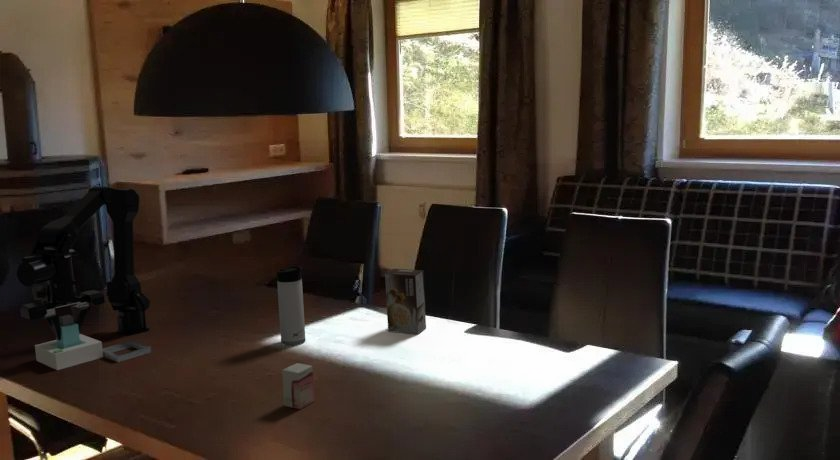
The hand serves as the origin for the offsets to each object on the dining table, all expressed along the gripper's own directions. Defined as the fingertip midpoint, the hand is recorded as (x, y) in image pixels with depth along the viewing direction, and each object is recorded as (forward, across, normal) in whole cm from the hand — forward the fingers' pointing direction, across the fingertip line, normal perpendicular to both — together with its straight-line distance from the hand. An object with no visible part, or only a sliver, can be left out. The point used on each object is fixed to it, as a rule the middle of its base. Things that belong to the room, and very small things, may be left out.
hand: (67, 337), depth 192 cm
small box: (+6, -16, +69) cm, 71 cm away
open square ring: (+6, -10, +8) cm, 14 cm away
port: (+6, 0, 0) cm, 6 cm away
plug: (+4, 0, 0) cm, 4 cm away
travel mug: (+6, -42, +36) cm, 56 cm away
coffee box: (+6, -67, +53) cm, 86 cm away
